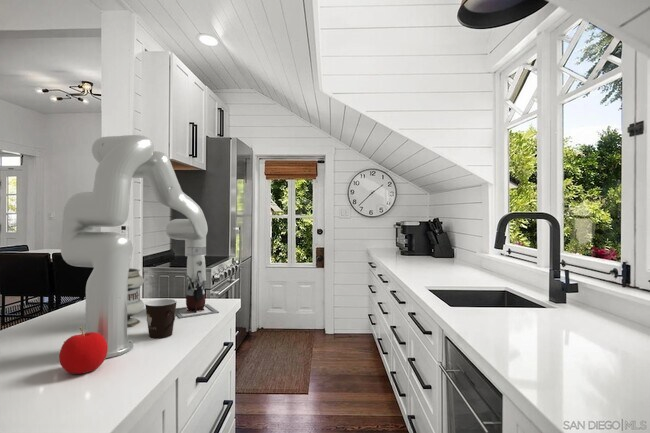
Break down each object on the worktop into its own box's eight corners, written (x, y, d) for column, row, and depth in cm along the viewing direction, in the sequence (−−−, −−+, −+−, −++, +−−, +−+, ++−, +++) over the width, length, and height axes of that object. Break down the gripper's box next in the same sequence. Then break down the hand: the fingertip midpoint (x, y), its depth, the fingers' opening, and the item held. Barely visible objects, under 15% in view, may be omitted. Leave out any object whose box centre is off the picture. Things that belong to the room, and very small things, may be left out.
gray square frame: (179, 318, 124) (179, 317, 124) (171, 309, 135) (171, 308, 135) (218, 312, 132) (218, 311, 132) (207, 304, 143) (207, 304, 143)
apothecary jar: (111, 332, 108) (112, 274, 108) (95, 324, 115) (96, 270, 115) (150, 323, 118) (151, 269, 118) (133, 316, 125) (134, 266, 125)
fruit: (99, 359, 88) (99, 319, 88) (113, 369, 82) (114, 326, 82) (54, 371, 81) (54, 328, 81) (65, 383, 75) (66, 336, 75)
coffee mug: (145, 332, 108) (145, 300, 108) (175, 329, 112) (176, 298, 112) (143, 345, 98) (144, 309, 98) (177, 341, 101) (177, 306, 101)
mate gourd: (205, 307, 139) (205, 269, 138) (205, 312, 131) (206, 272, 131) (184, 309, 136) (185, 270, 136) (184, 314, 129) (184, 273, 129)
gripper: (212, 253, 129) (212, 301, 129) (199, 249, 143) (199, 292, 143) (191, 254, 125) (190, 304, 125) (179, 250, 139) (179, 294, 139)
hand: (195, 297), depth 134 cm, fingers closed on mate gourd, 7 cm apart
